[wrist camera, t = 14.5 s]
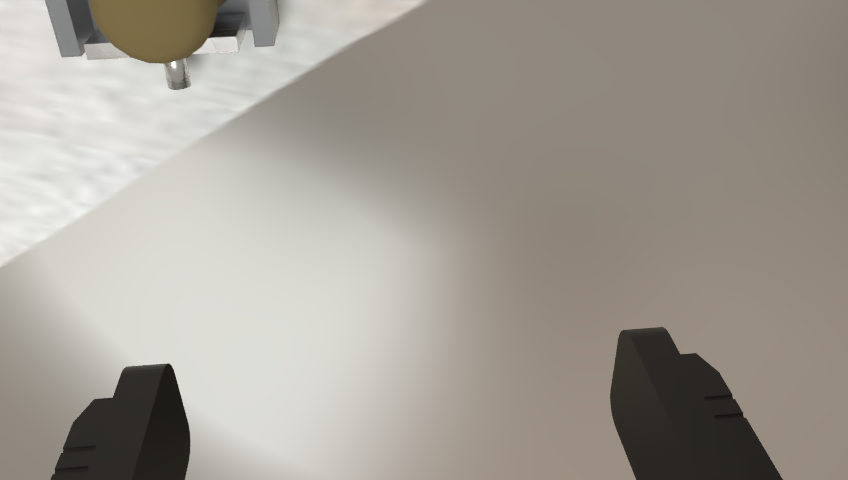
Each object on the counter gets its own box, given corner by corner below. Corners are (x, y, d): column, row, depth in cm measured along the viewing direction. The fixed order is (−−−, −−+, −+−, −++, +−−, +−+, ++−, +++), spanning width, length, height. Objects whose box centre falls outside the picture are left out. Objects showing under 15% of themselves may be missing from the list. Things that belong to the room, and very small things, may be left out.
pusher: (244, 13, 42) (236, 36, 39) (252, 68, 44) (245, 95, 41) (104, 20, 42) (83, 44, 39) (118, 75, 44) (99, 103, 40)
